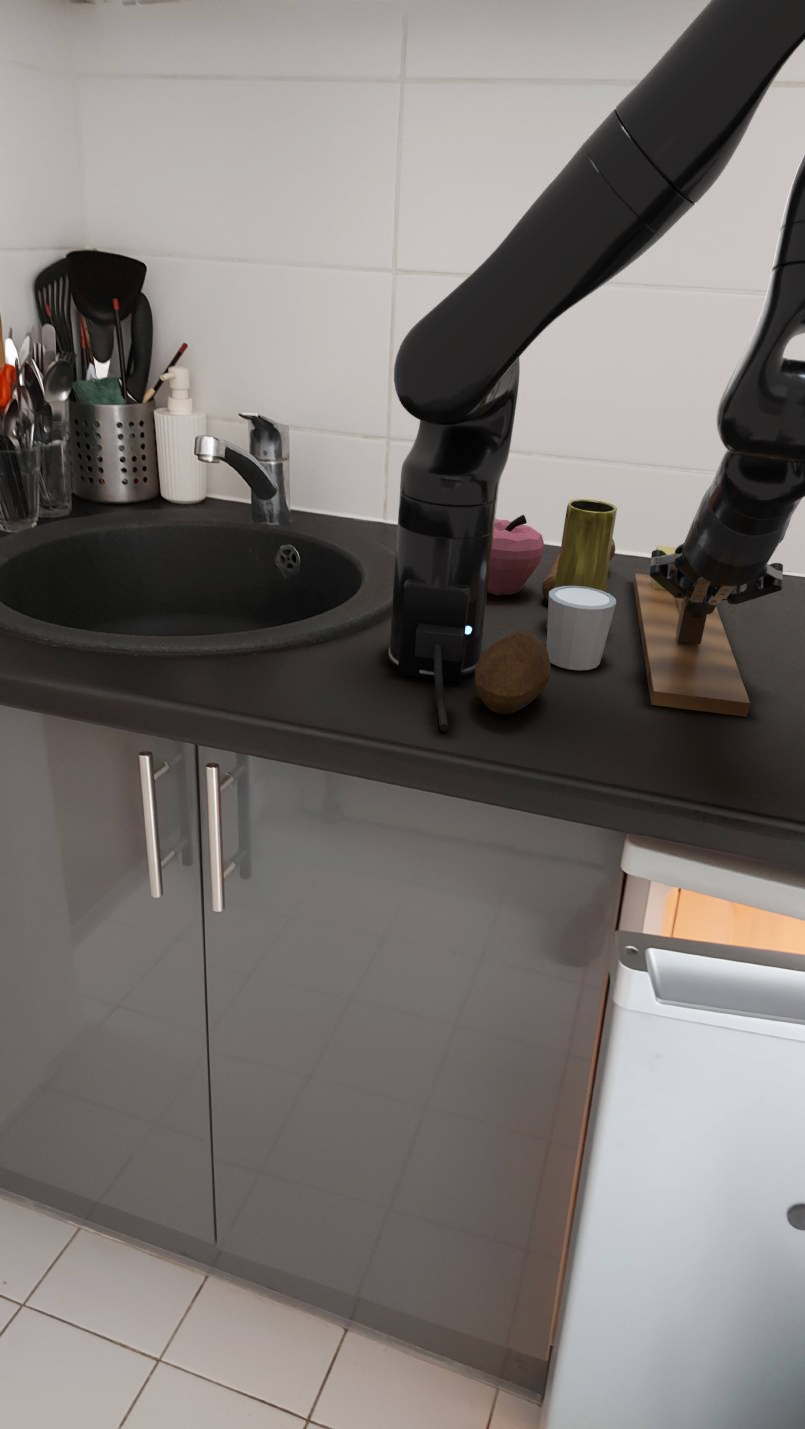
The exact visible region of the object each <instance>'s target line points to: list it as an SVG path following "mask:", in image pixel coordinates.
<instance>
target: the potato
mask: <svg viewBox="0 0 805 1429" xmlns="http://www.w3.org/2000/svg"><path fill="white" fill-rule="evenodd" d="M551 669H552V667H551V663H550V660H549V655H548V652H547V647H546V646H545V645H544V643H543V642H542V640H541V639H540V638H538V637H537V636H536V635H535V634H533V633H532V632H530V631H523V630H518V631H514V632H511V633H508V634H506V635H504V636H502V637H501V638H499V639H498V640H497V641H495V642H493V643H492V644H491V645H490V646H489V647H488V648H487V649H486V650H485V651H484V652H483V653H481V656H480V658H479V660H478V663H477V665H476V668H475V672H474V686H475V690H476V693H477V696H478V697H479V699H480V700H481V701H482V703H483V704H484V706H485V707H486V708H488V710H490V711H491V712H493V713H495V714H499V715H509V714H514V713H516V712H518V711H520V710H522V709H523V708H526V706H528V705H529V704H531V702H532V701H534V700H535V699H536V698H537V697H538V696H539V695H540V694H541V693H542V691H543V690H544V689H545V687H546V686H547V685H548V683H549V681H550V677H551Z"/></svg>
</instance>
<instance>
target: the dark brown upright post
mask: <svg viewBox="0 0 805 1429" xmlns="http://www.w3.org/2000/svg"><path fill="white" fill-rule="evenodd" d="M685 599H686V597H685V598H676V600H677V604H678V608H679V612H680V616H679V621H678V626H677V631H676V635H677V640H678V642H686V643H694V644H701V641H702V636H703V631H704V627H705V622H706V617H707V614H706V615H705V617H704V618H698V617H690V616H689V614H690V612H686V611H685Z"/></svg>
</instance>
